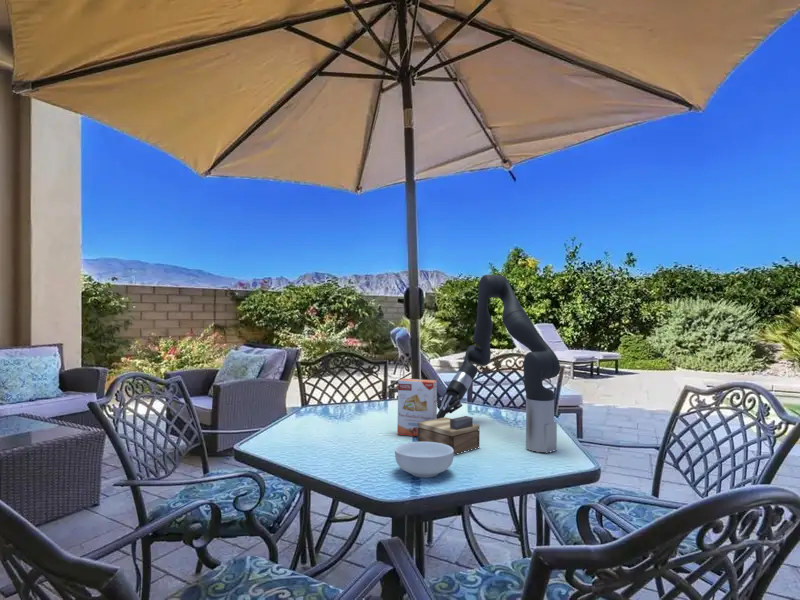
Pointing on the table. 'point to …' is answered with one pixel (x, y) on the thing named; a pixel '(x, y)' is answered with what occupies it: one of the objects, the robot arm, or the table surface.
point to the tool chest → (451, 439)
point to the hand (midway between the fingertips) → (438, 419)
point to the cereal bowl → (424, 458)
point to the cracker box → (415, 404)
